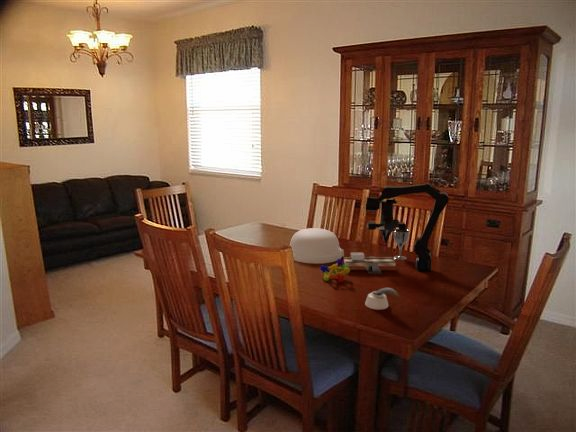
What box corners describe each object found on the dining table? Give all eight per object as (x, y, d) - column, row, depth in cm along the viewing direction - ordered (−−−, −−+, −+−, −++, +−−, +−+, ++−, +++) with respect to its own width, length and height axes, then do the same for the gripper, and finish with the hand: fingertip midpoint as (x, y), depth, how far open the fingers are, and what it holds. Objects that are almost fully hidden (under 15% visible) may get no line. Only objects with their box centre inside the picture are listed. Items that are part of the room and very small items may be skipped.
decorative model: (323, 277, 200) (317, 259, 213) (327, 293, 204) (321, 274, 218) (352, 270, 200) (344, 252, 213) (355, 286, 204) (347, 267, 217)
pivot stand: (376, 266, 228) (377, 255, 227) (381, 273, 218) (381, 262, 216) (364, 266, 228) (365, 255, 227) (368, 273, 218) (369, 262, 216)
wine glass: (391, 259, 240) (392, 231, 237) (393, 255, 248) (395, 228, 245) (406, 260, 238) (408, 232, 234) (408, 256, 245) (410, 229, 242)
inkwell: (378, 299, 187) (379, 275, 185) (409, 315, 172) (411, 290, 170) (360, 303, 183) (361, 279, 181) (390, 320, 168) (392, 294, 165)
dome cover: (344, 248, 260) (345, 224, 257) (343, 265, 231) (344, 238, 228) (289, 246, 264) (289, 222, 261) (280, 262, 235) (280, 235, 232)
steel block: (362, 259, 224) (362, 252, 224) (364, 262, 220) (364, 255, 219) (350, 259, 224) (350, 252, 224) (351, 262, 220) (351, 255, 219)
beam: (392, 262, 226) (392, 257, 225) (395, 267, 219) (395, 261, 218) (343, 263, 226) (343, 257, 225) (345, 267, 219) (345, 261, 218)
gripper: (370, 215, 216) (369, 246, 219) (410, 215, 216) (408, 247, 219) (366, 210, 227) (365, 240, 230) (404, 210, 227) (402, 241, 230)
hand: (385, 242), depth 227 cm, fingers closed
